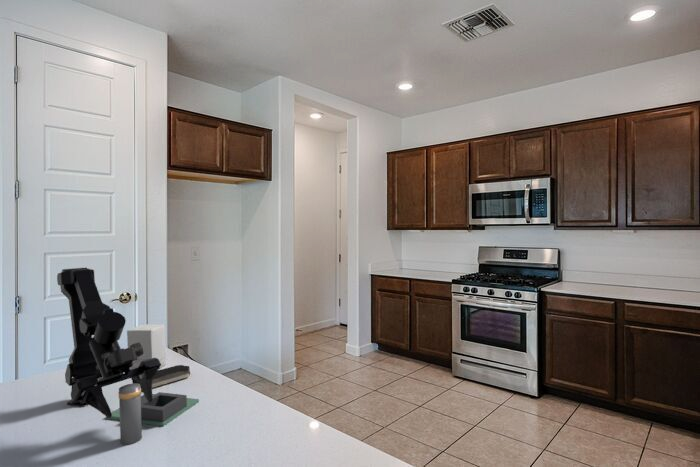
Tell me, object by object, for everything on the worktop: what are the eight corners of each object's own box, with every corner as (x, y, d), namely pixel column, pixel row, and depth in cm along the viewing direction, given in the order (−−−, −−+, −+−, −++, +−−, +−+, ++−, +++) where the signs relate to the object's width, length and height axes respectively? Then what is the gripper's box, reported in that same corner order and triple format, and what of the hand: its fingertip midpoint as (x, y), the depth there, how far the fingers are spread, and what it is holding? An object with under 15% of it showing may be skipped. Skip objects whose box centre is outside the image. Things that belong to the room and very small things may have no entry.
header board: (106, 418, 104) (105, 404, 104) (146, 395, 117) (146, 383, 117) (163, 426, 99) (163, 411, 99) (198, 402, 112) (198, 388, 112)
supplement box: (167, 364, 144) (165, 323, 144) (152, 373, 135) (151, 330, 135) (143, 364, 145) (142, 323, 145) (127, 373, 136) (126, 330, 136)
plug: (115, 443, 91) (113, 390, 91) (131, 433, 96) (129, 382, 96) (131, 446, 90) (129, 392, 90) (146, 435, 95) (145, 384, 94)
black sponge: (140, 394, 119) (139, 382, 119) (130, 386, 125) (130, 375, 125) (192, 378, 131) (192, 367, 131) (181, 372, 137) (181, 361, 137)
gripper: (74, 344, 88) (97, 406, 82) (156, 326, 103) (181, 376, 97) (61, 372, 92) (82, 433, 86) (141, 351, 108) (165, 401, 101)
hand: (131, 409), depth 93 cm, fingers open, 9 cm apart
